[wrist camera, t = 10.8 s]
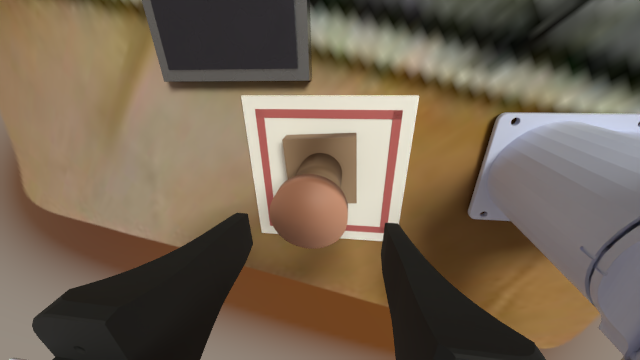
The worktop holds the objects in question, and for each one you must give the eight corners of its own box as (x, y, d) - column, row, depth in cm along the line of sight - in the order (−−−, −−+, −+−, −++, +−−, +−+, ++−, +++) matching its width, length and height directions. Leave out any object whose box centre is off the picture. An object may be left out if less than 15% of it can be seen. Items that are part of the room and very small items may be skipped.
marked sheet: (418, 95, 16) (419, 96, 15) (395, 239, 21) (395, 242, 21) (242, 95, 17) (240, 95, 17) (262, 230, 22) (261, 233, 22)
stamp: (356, 131, 17) (358, 172, 11) (356, 193, 19) (357, 257, 13) (287, 133, 18) (251, 173, 11) (295, 193, 20) (268, 253, 14)
